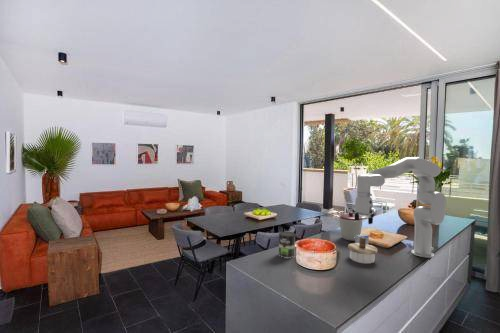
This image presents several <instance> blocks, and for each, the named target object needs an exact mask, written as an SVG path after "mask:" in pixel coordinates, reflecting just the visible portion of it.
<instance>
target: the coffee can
mask: <svg viewBox="0 0 500 333" xmlns="http://www.w3.org/2000/svg"><path fill="white" fill-rule="evenodd" d="M295 245H296V234H295V232H291V231H280V232H279V233H278V257H280V256H281V257H280V258H282V257H284V258H283V259H292V258H291V257H293V256H294V255H295V253H296V252H295V251H296V250H295V249H296V246H295ZM294 257H295V256H294ZM294 257H293V258H294Z"/></svg>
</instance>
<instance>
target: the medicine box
mask: <svg viewBox="0 0 500 333" xmlns="http://www.w3.org/2000/svg"><path fill="white" fill-rule="evenodd" d="M360 237H364V238H366V244H368V245H369V242H370V241H369V235H367V234H364V233H363V234H361V235H355V241H354V243H359V239H360Z"/></svg>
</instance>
